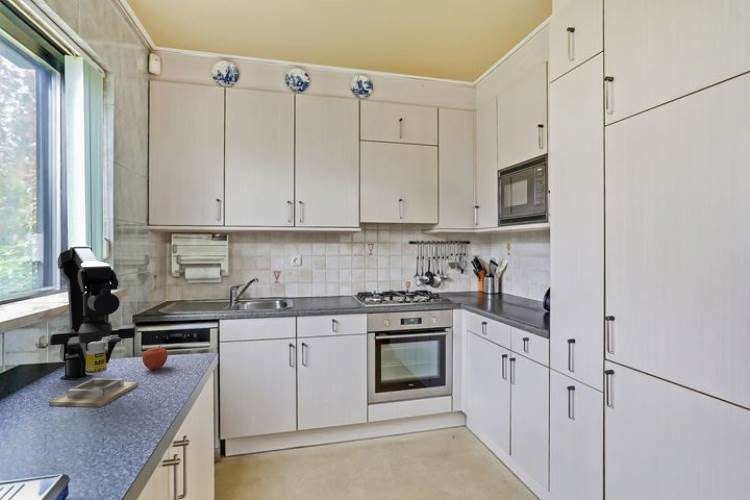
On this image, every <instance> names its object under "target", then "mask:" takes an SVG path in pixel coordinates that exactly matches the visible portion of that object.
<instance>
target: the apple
mask: <svg viewBox="0 0 750 500" xmlns="http://www.w3.org/2000/svg"><path fill="white" fill-rule="evenodd" d="M168 354H169V353H168V351H167V350H166V349H165V348H163V347H161V345H158V347H152V348H149V349H147V350H145V351H144V352H143V354H142V363H143V365H144V366H145V367H146V368H147V369H148V370H150V371H156V370H158V369H161V368H162V367H163V366H164V365H165V363H166V362H167V359H168V358H169V356H168Z"/></svg>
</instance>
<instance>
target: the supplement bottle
mask: <svg viewBox="0 0 750 500" xmlns="http://www.w3.org/2000/svg"><path fill="white" fill-rule="evenodd" d="M87 349H89V350H87V351H86V374H87V375H88V376H90V375H91V376H93V375H99V374H103V373H105V372H106V371H107V369H108V363H106V357H107V349H108V348H107V347H106V341H105V340H101V341H98V342H91V343H88V346H87Z"/></svg>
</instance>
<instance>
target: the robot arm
mask: <svg viewBox="0 0 750 500" xmlns="http://www.w3.org/2000/svg"><path fill="white" fill-rule="evenodd" d="M56 263H57V269H58V270H59V271H60V276H61V277H63V279H64V280H65V281H66V283H67V296H68V317H69V328H68V329H61V330H60V329H59V330H57V331H56V332H54V333H53V334H52V335H51V336H50V338H49V345H50V346H59V345H60V349H59V358H60V360H61V362H64V375H62V376H60V377H59V378H60V380H81V379H84V378H85V377H88V376H89V375H87V374H86V351H87V350H89V349H87V346H88V343H91V342H98V341H103V340H102V339H103V338H106V337H108V338H109V339H108V341H107V348H106V349H107V357H106V363H107V364H109V363H110V360H111V357H112V354H113V352H114V350H115V348H116V345H117V343H120V342H122V340H125V339H134V338H135V337H136V336H137V334H138V326H137V325H136V324H125V325H120V326H119V328H117V329H116V328H114V329H113V325H112V321H110V315H112V314H115V312H117V311H118V309H119V307H120V303H121V301H120V299H119V297H118V296H117V295H116V294H113V293H112V291H114V290H118V286H119V284H120V283H119V281H118V277H117V273H116V272H115V271H114V270H115V269H113V268H112V266H111V265H109V264H108V263H106V262H100V260H99V259H98V258H97V256H96V255H95V254H94V252H93V248H92V246H89V245H73V246H70V247H69V249H66V250H64V251H63V252H61V253H60V254H59V255H58V258H57V262H56Z"/></svg>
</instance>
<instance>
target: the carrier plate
mask: <svg viewBox="0 0 750 500" xmlns="http://www.w3.org/2000/svg"><path fill="white" fill-rule="evenodd" d="M138 386H139V382H138V381H137V382H136V381H125V378H117V377H114V378H113V377H111V378H110V377H93V378H91V379H89V380H87V381H84V382H82V383H81V384H78V385H76V386H74V387H72V388H69V389H67V390H66V393H64V394H63V395H60V396H59V397H56V398H54V399H51V400H50V401H49V402H48V403H49V406H57V407H58V406H64V407H88V408H90V407H94V408H96V407H97V408H101V407H103V406H105V405H106V404H108V403H110V402H112V401H113V400H115V399H117V398H119V397H120V396H122V395H124V394H126V393H128V392H129V391H131V390H133V389H134V388H136V387H138Z"/></svg>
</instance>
